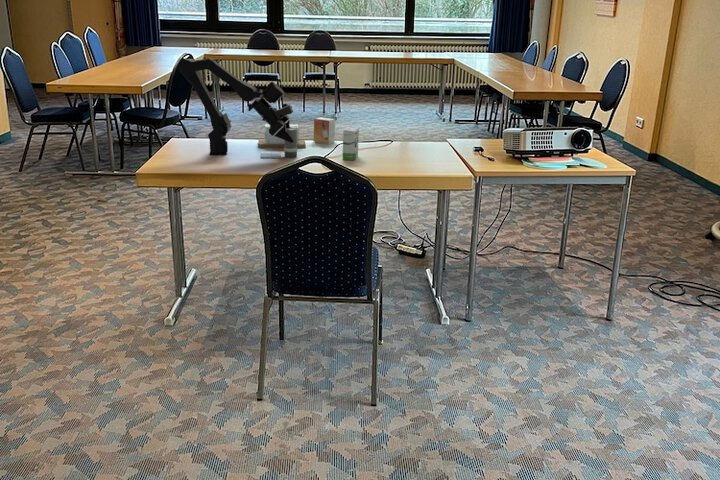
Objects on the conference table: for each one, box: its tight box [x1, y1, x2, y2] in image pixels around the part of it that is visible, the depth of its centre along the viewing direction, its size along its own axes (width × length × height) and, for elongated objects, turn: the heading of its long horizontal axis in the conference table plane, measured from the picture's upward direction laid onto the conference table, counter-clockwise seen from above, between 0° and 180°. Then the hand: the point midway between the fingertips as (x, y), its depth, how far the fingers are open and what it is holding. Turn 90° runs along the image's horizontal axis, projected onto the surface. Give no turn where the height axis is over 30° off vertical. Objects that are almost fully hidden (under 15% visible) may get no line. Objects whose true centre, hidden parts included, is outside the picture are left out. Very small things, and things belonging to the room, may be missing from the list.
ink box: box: [342, 126, 360, 161], centre depth 278 cm, size 9×5×12 cm, turn 168°
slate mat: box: [260, 152, 282, 159], centre depth 278 cm, size 8×7×1 cm
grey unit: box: [257, 123, 307, 149], centre depth 298 cm, size 20×10×8 cm, turn 98°
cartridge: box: [283, 128, 298, 159], centre depth 277 cm, size 5×5×11 cm
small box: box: [313, 116, 336, 145], centre depth 307 cm, size 8×6×10 cm
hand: (294, 140), depth 277 cm, fingers open, 7 cm apart
